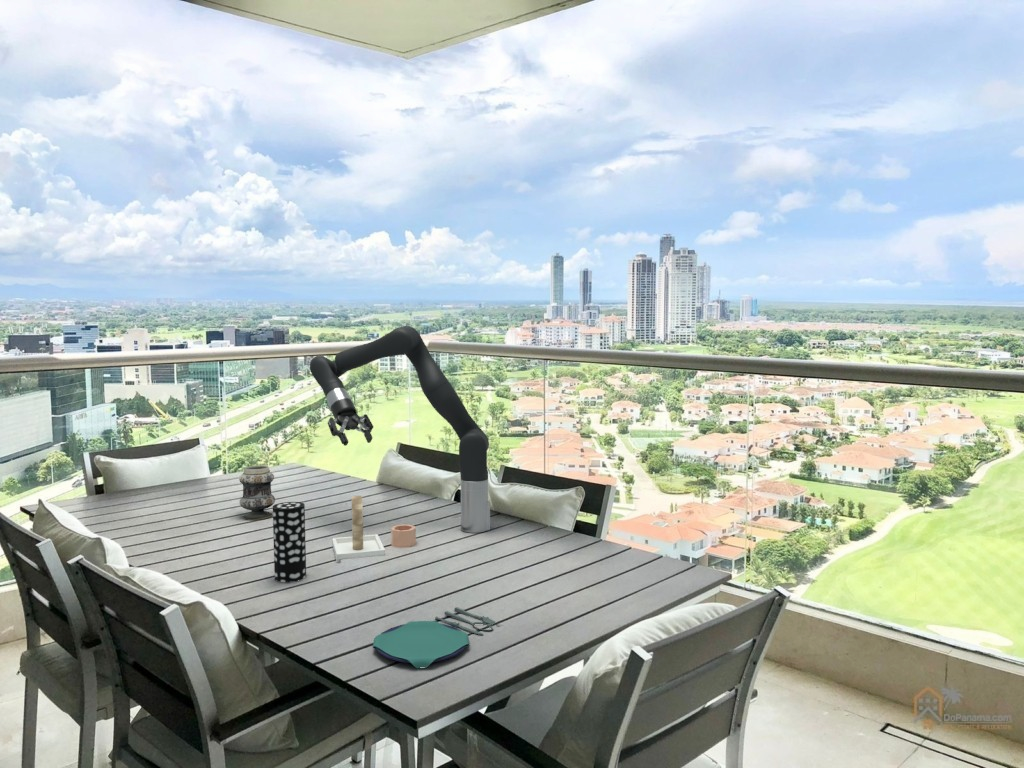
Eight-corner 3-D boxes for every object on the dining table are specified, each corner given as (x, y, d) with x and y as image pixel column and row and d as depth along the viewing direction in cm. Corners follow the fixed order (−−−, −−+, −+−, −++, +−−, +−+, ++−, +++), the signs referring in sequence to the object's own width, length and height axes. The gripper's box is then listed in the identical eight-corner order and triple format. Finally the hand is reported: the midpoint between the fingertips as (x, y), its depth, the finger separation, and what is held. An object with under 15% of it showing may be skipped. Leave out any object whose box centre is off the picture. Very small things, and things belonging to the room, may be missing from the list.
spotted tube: (297, 583, 197) (295, 510, 196) (268, 581, 199) (266, 508, 197) (311, 573, 206) (310, 502, 204) (284, 571, 207) (282, 501, 206)
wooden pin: (362, 546, 227) (361, 495, 225) (363, 549, 224) (362, 497, 222) (352, 547, 226) (351, 496, 224) (353, 550, 223) (352, 498, 221)
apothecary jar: (275, 511, 273) (273, 463, 272) (275, 519, 262) (274, 469, 261) (240, 513, 270) (238, 465, 268) (239, 522, 258) (237, 471, 257)
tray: (377, 542, 235) (377, 534, 235) (385, 558, 219) (385, 549, 218) (332, 546, 231) (332, 538, 230) (336, 562, 214) (336, 554, 214)
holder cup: (413, 542, 234) (413, 523, 234) (417, 549, 227) (417, 530, 227) (389, 544, 232) (389, 525, 232) (393, 551, 225) (392, 532, 224)
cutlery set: (354, 651, 157) (354, 640, 157) (452, 610, 181) (452, 601, 180) (420, 680, 145) (420, 669, 145) (515, 632, 168) (515, 622, 168)
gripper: (324, 398, 240) (342, 437, 233) (363, 395, 250) (381, 433, 242) (317, 413, 245) (334, 452, 237) (356, 410, 254) (373, 447, 246)
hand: (358, 442), depth 240 cm, fingers open, 8 cm apart
